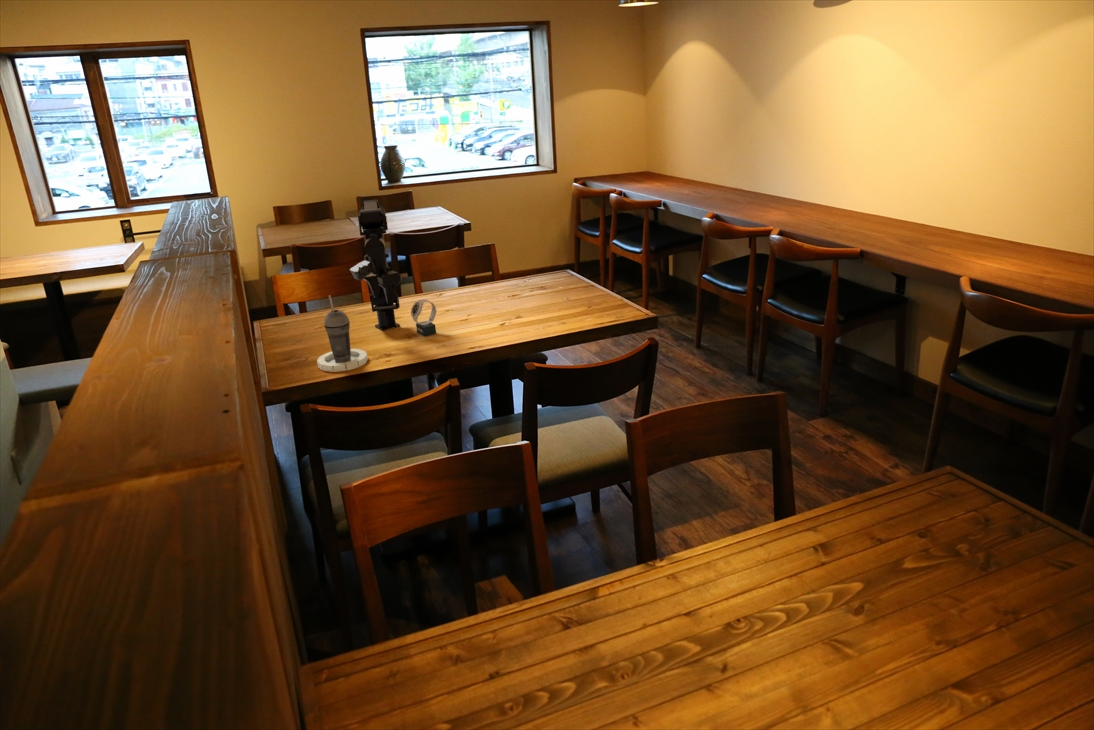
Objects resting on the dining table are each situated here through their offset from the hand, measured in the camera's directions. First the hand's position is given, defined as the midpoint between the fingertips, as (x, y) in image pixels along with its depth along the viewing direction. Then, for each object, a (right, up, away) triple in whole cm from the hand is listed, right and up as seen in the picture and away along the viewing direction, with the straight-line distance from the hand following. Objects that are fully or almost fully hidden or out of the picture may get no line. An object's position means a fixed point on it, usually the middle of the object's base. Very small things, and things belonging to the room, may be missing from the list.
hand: (382, 300), depth 230 cm
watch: (+12, -10, +9) cm, 18 cm away
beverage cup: (-9, -19, -12) cm, 24 cm away
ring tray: (-9, -19, -12) cm, 25 cm away
